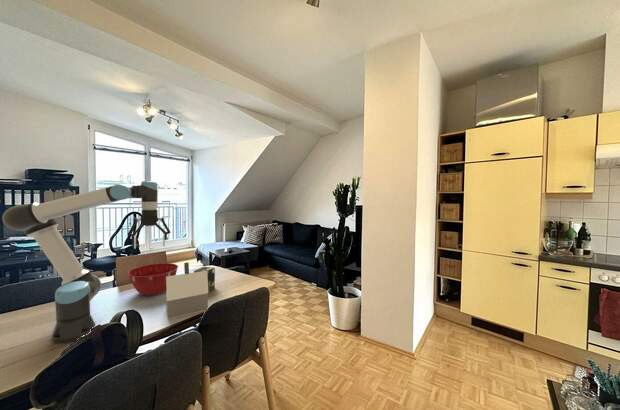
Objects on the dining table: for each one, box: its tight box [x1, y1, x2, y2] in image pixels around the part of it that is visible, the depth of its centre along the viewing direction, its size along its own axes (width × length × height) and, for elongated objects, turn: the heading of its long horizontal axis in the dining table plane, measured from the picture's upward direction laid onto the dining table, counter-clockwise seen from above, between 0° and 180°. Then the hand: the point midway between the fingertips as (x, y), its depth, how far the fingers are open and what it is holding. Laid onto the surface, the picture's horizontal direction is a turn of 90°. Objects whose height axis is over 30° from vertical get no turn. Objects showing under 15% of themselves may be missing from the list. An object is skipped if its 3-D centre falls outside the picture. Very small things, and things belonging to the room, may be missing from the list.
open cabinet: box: [165, 292, 209, 320], centre depth 144 cm, size 20×12×10 cm, turn 123°
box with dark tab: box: [166, 262, 209, 301], centre depth 142 cm, size 21×18×6 cm
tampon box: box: [193, 266, 216, 293], centre depth 172 cm, size 11×9×15 cm
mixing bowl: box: [127, 262, 179, 297], centre depth 168 cm, size 28×28×16 cm
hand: (149, 247), depth 141 cm, fingers open, 13 cm apart
